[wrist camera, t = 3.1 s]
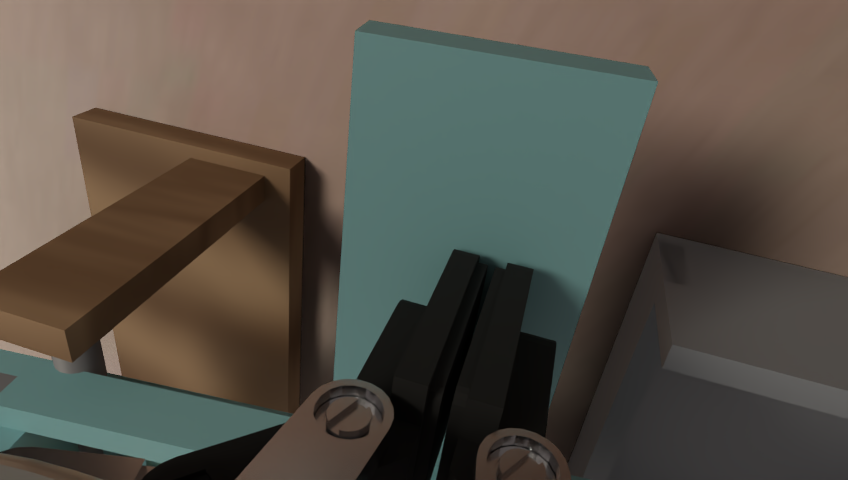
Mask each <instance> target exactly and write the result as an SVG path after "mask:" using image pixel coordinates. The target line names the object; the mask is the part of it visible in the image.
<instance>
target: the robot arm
mask: <svg viewBox="0 0 848 480" xmlns="http://www.w3.org/2000/svg"><path fill="white" fill-rule="evenodd" d="M479 258H480V255H476V254H472V253H468V252H464V251H460V250H456V249H454V250H453V251H452V254H451V256H450V258H449V260H448V262H447V264H446V266H445V268H444V271H443V273H442V275H441V277H440V279H439V281H438V283H437V285H436V287H435V290H434V292H433V294H432V296H431V298H430V300H429V302H428V304H427V306H425V305H422V304H418V303H414V302H411V301H407V300H403V299H402V300H400V301H399V303H398V304H397V306H396V308H395V310H394V311H393V313H392V315H391V317H390V319H389V321H388V322H387V324H386V326H385V328H384V330H383V331H382V333H381V335H380V337H379V339H378V341H377V342H376V344H375V346H374V348H373V350H372V351H371V353H370V355H369V357H368V359H367V361H366V362H365V364H364V366H363V368H362V370H361V371H360V373H359V375H358V377H357V379H341V380H335V381H331V382H329V383H326V384H324V385H322V386H320V387H319V388H318V389H316V390H315V391H314V392H313V393H311V395H310V396H309V397H308V398H307V399H306V400H305V401H304V402H303V404H302V405H301V406H300V407H299V408H298V409H297V410H296V411H295V413H294V414H293V415H292V416H291V417H290V418H289V419H288V420H287V422H286V423H283V424H280V425H277V426H273V427H270V428H267V429H264V430H261V431H257V432H254V433H251V434H248V435H245V436H241V437H238V438H235V439H232V440H229V441H225V442H222V443H219V444H216V445H213V446H209V447H206V448H203V449H200V450H197V451H193V452H190V453H187V454H184V455H180V456H177V457H174V458H172V459H170V460H168V461H165V462H163V463H161V464H159V465H158V466H156V467H153V466H146V460H145V459H143V458H133V457H124V456H115V455H105V454H96V453H87V452H78V451H68V450H59V449H50V448H40V447H15V448H12V449H8V450H5V451H2V452H0V480H431V477H432V474H433V471H434V467H435V464H436V461H437V458H438V455H439V452H440V449H441V446H442V442H443V439H444V436H445V439H444V444H443V449H442V453H441V458H440V463H439V468H438V472H437V477H436V480H571V473H570V470H569V467H568V463H567V461H566V459H565V458H564V456H563V455H562V453H561V452H560V450H559V449H558V448H557V447H556V446H555V445H554V444H552V443H551V442H550V441H549V440H548V439H546V438H545V434H546V426H547V418H548V410H549V402H550V394H551V386H552V378H553V370H554V362H555V354H556V344H557V343H556V341H554V340H550V339H546V338H543V337H539V336H535V335H532V334H528V333H524V332H521V326H522V322H523V317H524V312H525V308H526V303H527V298H528V294H529V289H530V285H531V280H532V275H533V271H534V269H532V268H528V267H524V266H520V265H516V264H512V263H507V267H506V269H503V268H499V267H495V270H494V273H493V276H492V279H491V283H490V286H489V289H488V292H487V295H486V298H485V301H484V304H483V307H482V310H481V313H480V316H479V319H478V322H477V325H476V328H475V324H476V319H477V315H478V310H479V305H480V301H481V296H482V292H483V287H484V283H485V278H486V273H487V269H488V265H487V264H483V263H479ZM474 328H475V331H474ZM473 333H474V334H473ZM445 433H446V434H445Z"/></svg>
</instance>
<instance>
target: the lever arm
mask: <svg viewBox="0 0 848 480" xmlns="http://www.w3.org/2000/svg"><path fill="white" fill-rule="evenodd" d="M657 84H658V81H657V79H656V78H655V76H654V75H653V73H652V72H651V70H650V69H649V67H648V66H642V65H636V64H630V63H624V62H618V61H612V60H606V59H600V58H594V57H588V56H582V55H576V54H570V53H564V52H558V51H552V50H546V49H540V48H534V47H528V46H522V45H516V44H510V43H504V42H498V41H492V40H486V39H480V38H474V37H468V36H462V35H456V34H450V33H444V32H438V31H432V30H426V29H420V28H414V27H408V26H402V25H396V24H390V23H384V22H378V21H372V20H369V21H368V22H366V23H365V24H364V25H362V26H361V27H360V28H358V29H357V30H356V31H355V41H354V57H353V73H352V89H351V105H350V121H349V137H348V153H347V169H346V185H345V201H344V217H343V233H342V249H341V265H340V281H339V297H338V313H337V329H336V345H335V362H334V378H333V381H335V380H341V379H357V377H358V375H359V373H360V371H361V370H362V368H363V366H364V364H365V362H366V361H367V359H368V357H369V355H370V353H371V351H372V350H373V348H374V346H375V344H376V342H377V341H378V339H379V337H380V335H381V333H382V331H383V330H384V328H385V326H386V324H387V322H388V321H389V319H390V317H391V315H392V313H393V311H394V310H395V308H396V306H397V304H398V303H399V301H400V300H402V299H403V300H407V301H411V302H414V303H418V304H422V305H425V306H427V304H428V302H429V300H430V298H431V296H432V294H433V292H434V290H435V287H436V285H437V283H438V281H439V279H440V277H441V275H442V273H443V271H444V268H445V266H446V264H447V262H448V260H449V258H450V256H451V254H452V251H453V250H454V249H456V250H460V251H464V252H468V253H472V254H476V255H480V258H479V263H483V264H487V265H488V269H487V273H486V278H485V283H484V287H483V292H482V296H481V301H480V305H479V310H478V315H477V319H476V324H475V328H476V325H477V322H478V319H479V316H480V313H481V310H482V307H483V304H484V301H485V298H486V295H487V292H488V289H489V286H490V283H491V279H492V276H493V273H494V270H495V267H499V268H503V269H506V267H507V263H512V264H516V265H520V266H524V267H528V268H532V269H534V271H533V275H532V280H531V285H530V289H529V294H528V298H527V303H526V308H525V312H524V317H523V322H522V326H521V332H524V333H528V334H532V335H535V336H539V337H543V338H546V339H550V340H554V341H556V343H557V344H556V354H555V362H554V370H553V378H552V386H551V394H550V402H549V407H550V404H551V401H552V398H553V395H554V392H555V389H556V386H557V383H558V380H559V377H560V374H561V371H562V368H563V365H564V362H565V359H566V356H567V353H568V350H569V347H570V344H571V341H572V338H573V335H574V332H575V329H576V326H577V323H578V320H579V317H580V314H581V311H582V308H583V305H584V302H585V299H586V296H587V293H588V290H589V287H590V284H591V281H592V278H593V275H594V272H595V269H596V266H597V263H598V260H599V257H600V254H601V251H602V248H603V245H604V242H605V239H606V236H607V233H608V230H609V227H610V224H611V221H612V218H613V215H614V212H615V209H616V207H617V204H618V201H619V198H620V195H621V192H622V189H623V186H624V183H625V180H626V177H627V174H628V171H629V168H630V165H631V162H632V159H633V156H634V153H635V150H636V147H637V144H638V141H639V138H640V135H641V132H642V129H643V126H644V123H645V120H646V117H647V114H648V111H649V108H650V105H651V102H652V99H653V96H654V93H655V90H656V87H657ZM475 328H474V331H475ZM473 334H474V333H473ZM51 357H52V356H51ZM292 415H293V414H292V413H287V412H283V411H278V410H274V409H269V408H265V407H260V406H256V405H251V404H246V403H242V402H237V401H233V400H228V399H224V398H219V397H215V396H210V395H206V394H201V393H197V392H192V391H188V390H183V389H178V388H174V387H169V386H165V385H160V384H156V383H151V382H147V381H142V380H138V379H133V378H129V377H124V376H120V375H115V374H110V373H107V370H106V366H105V361H104V356H103V351H102V347H101V342H100V340H99V341H98V342H96V343H95V344H94V345H93V346H92V347H90V348H89V349H88V350H87V351H86V352H85V353H83V354H82V355H81V356H80V357H79V358H77V359H76V360H75V361H74V362H73V363H71V362H68V361H65V360H62V359H59V358H56V357H52V360H47V359H42V358H38V357H33V356H29V355H24V354H20V353H15V352H11V351H6V350H2V349H0V452H2V451H5V450H8V449H12V448H15V447H40V448H50V449H59V450H68V451H78V452H87V453H96V454H105V455H115V456H124V457H133V458H143V459H145V460H146V466H153V467H156V466H158V465H159V464H161V463H163V462H165V461H168V460H170V459H172V458H174V457H177V456H180V455H184V454H187V453H190V452H193V451H197V450H200V449H203V448H206V447H209V446H213V445H216V444H219V443H222V442H225V441H229V440H232V439H235V438H238V437H241V436H245V435H248V434H251V433H254V432H257V431H261V430H264V429H267V428H270V427H273V426H277V425H280V424H283V423H286V422H287V420H288V419H289V418H290V417H291V416H292ZM445 434H446V433H445ZM444 439H445V436H444ZM444 439H443V442H442V446H441V449H440V452H439V455H438V458H437V461H436V464H435V467H434V471H433V474H432V477H431V480H436V477H437V472H438V468H439V463H440V458H441V453H442V449H443V444H444ZM571 480H591V479H587V478H582V477H577V476H573V475H571Z"/></svg>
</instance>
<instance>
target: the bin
mask: <svg viewBox="0 0 848 480" xmlns="http://www.w3.org/2000/svg"><path fill="white" fill-rule="evenodd" d="M568 467H569V470H570V473H571V475H573V476H577V477H582V478H587V479H591V480H848V277H844V276H840V275H836V274H831V273H827V272H823V271H819V270H814V269H810V268H806V267H802V266H797V265H793V264H789V263H785V262H780V261H776V260H772V259H767V258H763V257H759V256H755V255H750V254H746V253H742V252H738V251H733V250H729V249H725V248H721V247H716V246H712V245H708V244H704V243H699V242H695V241H691V240H687V239H682V238H678V237H674V236H670V235H665V234H661V233H656V236H655V238H654V241H653V244H652V246H651V249H650V251H649V254H648V257H647V259H646V262H645V264H644V267H643V270H642V272H641V275H640V277H639V280H638V283H637V285H636V288H635V290H634V293H633V296H632V298H631V301H630V303H629V306H628V309H627V311H626V314H625V316H624V319H623V322H622V324H621V327H620V330H619V332H618V335H617V337H616V340H615V343H614V345H613V348H612V350H611V353H610V356H609V358H608V361H607V363H606V366H605V369H604V371H603V374H602V376H601V379H600V382H599V384H598V387H597V389H596V392H595V395H594V397H593V400H592V402H591V405H590V408H589V410H588V413H587V415H586V418H585V421H584V423H583V426H582V428H581V431H580V434H579V436H578V439H577V441H576V444H575V447H574V449H573V452H572V454H571V457H570V460H569V462H568Z"/></svg>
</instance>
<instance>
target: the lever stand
mask: <svg viewBox="0 0 848 480" xmlns="http://www.w3.org/2000/svg"><path fill="white" fill-rule="evenodd" d="M73 122H74V128H75V133H76V138H77V143H78V149H79V154H80V159H81V164H82V169H83V175H84V180H85V185H86V190H87V196H88V201H89V206H90V211H91V216H92V217H90V218H88V219H87V220H85V221H83V222H81V223H80V224H78V225H76V226H75V227H73V228H71V229H70V230H68V231H66V232H65V233H63V234H61V235H60V236H58V237H56V238H55V239H53V240H51V241H50V242H48V243H46V244H44V245H43V246H41V247H39V248H38V249H36V250H34V251H33V252H31V253H29V254H28V255H26V256H24V257H23V258H21V259H19V260H18V261H16V262H14V263H12V264H11V265H9V266H7V267H6V268H4V269H2V270H1V271H0V340H3V341H6V342H9V343H12V344H15V345H18V346H22V347H25V348H28V349H31V350H34V351H37V352H40V353H43V354H46V355H49V356H52V357H56V358H59V359H62V360H65V361H68V362H71V363H73V362H74V361H75V360H76V359H77V358H79V357H80V356H81V355H82V354H83V353H85V352H86V351H87V350H88V349H89V348H90V347H92V346H93V345H94V344H95V343H96V342H98V341H99V340H100V339H101V338H102V337H104V336H105V335H106V334H107V333H108V332H109V331H111V330H112V329H113V331H114V336H115V342H116V347H117V352H118V357H119V363H120V368H121V373H122V376H124V377H129V378H133V379H138V380H142V381H147V382H151V383H156V384H160V385H165V386H169V387H174V388H178V389H183V390H188V391H192V392H197V393H201V394H206V395H210V396H215V397H219V398H224V399H228V400H233V401H237V402H242V403H246V404H251V405H256V406H260V407H265V408H269V409H274V410H278V411H283V412H287V413H292V414H294V413H295V411H296V410H297V409H298V408H299V396H300V351H301V305H302V260H303V214H304V169H305V157H301V156H297V155H293V154H288V153H284V152H280V151H276V150H272V149H267V148H263V147H259V146H255V145H250V144H246V143H242V142H238V141H234V140H229V139H225V138H221V137H217V136H212V135H208V134H204V133H200V132H196V131H191V130H187V129H183V128H179V127H175V126H170V125H166V124H162V123H158V122H153V121H149V120H145V119H141V118H137V117H132V116H128V115H124V114H120V113H115V112H111V111H107V110H103V109H99V108H94V109H91V110H89V111H86V112H83V113H81V114H78V115H76V116H73Z"/></svg>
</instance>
